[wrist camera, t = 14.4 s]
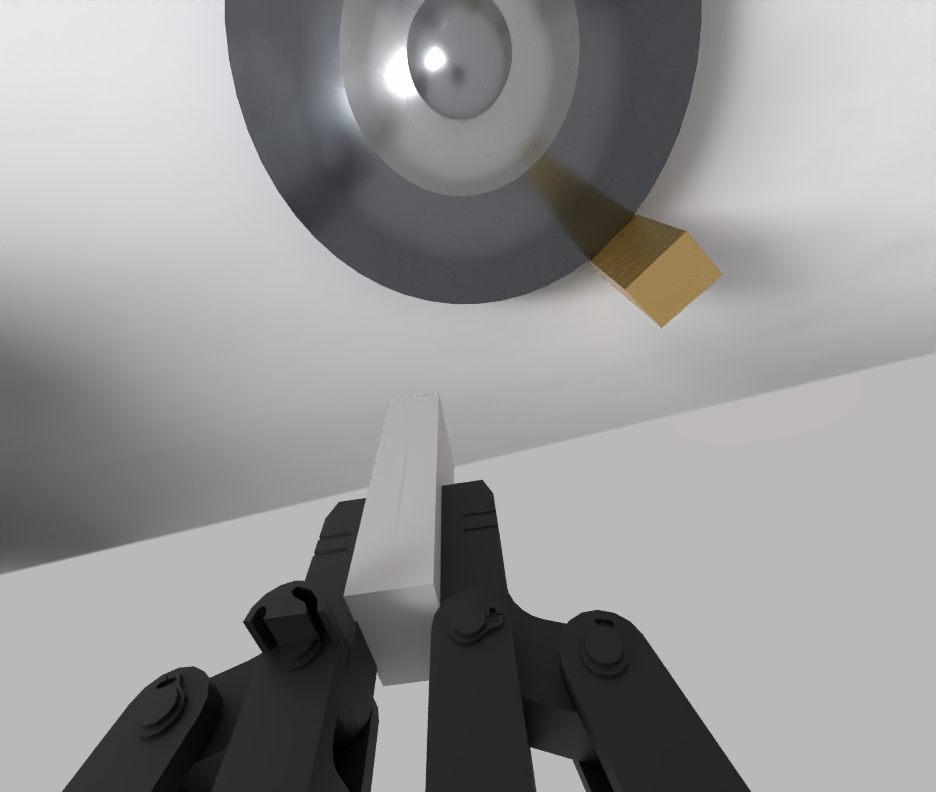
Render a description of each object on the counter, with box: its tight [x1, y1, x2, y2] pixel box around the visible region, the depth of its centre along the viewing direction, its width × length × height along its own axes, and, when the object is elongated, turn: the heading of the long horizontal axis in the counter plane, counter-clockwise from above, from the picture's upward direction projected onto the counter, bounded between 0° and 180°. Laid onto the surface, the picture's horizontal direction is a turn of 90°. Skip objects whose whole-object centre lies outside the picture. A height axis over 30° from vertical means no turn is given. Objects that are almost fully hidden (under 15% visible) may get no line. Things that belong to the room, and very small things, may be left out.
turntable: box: [225, 0, 722, 328], centre depth 18 cm, size 20×22×7 cm
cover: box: [339, 0, 580, 196], centre depth 16 cm, size 8×8×7 cm
